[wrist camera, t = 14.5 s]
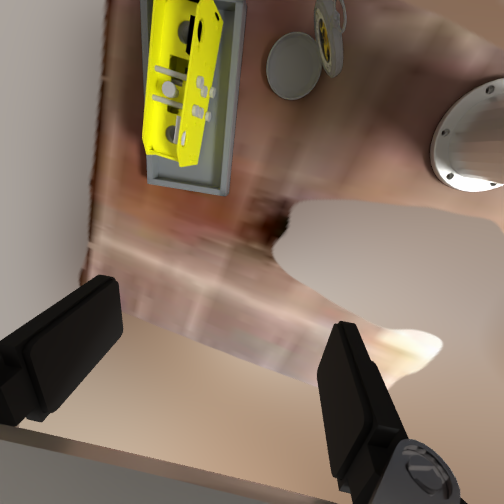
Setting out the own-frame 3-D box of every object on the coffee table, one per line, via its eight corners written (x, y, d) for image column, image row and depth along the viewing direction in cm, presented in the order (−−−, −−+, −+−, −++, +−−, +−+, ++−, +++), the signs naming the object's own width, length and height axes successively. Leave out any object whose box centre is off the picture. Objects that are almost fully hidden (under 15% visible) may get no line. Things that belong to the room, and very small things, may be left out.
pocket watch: (256, 79, 30) (245, 48, 21) (298, 4, 27) (306, -72, 18) (307, 119, 31) (317, 107, 22) (353, 52, 28) (388, 4, 19)
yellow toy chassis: (202, 165, 34) (179, 169, 27) (165, 153, 34) (131, 153, 27) (228, 26, 28) (208, -20, 20) (182, 11, 28) (145, -41, 20)
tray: (247, 6, 27) (243, -7, 25) (228, 193, 36) (225, 196, 34) (150, -6, 28) (139, -20, 26) (155, 181, 37) (147, 183, 34)
